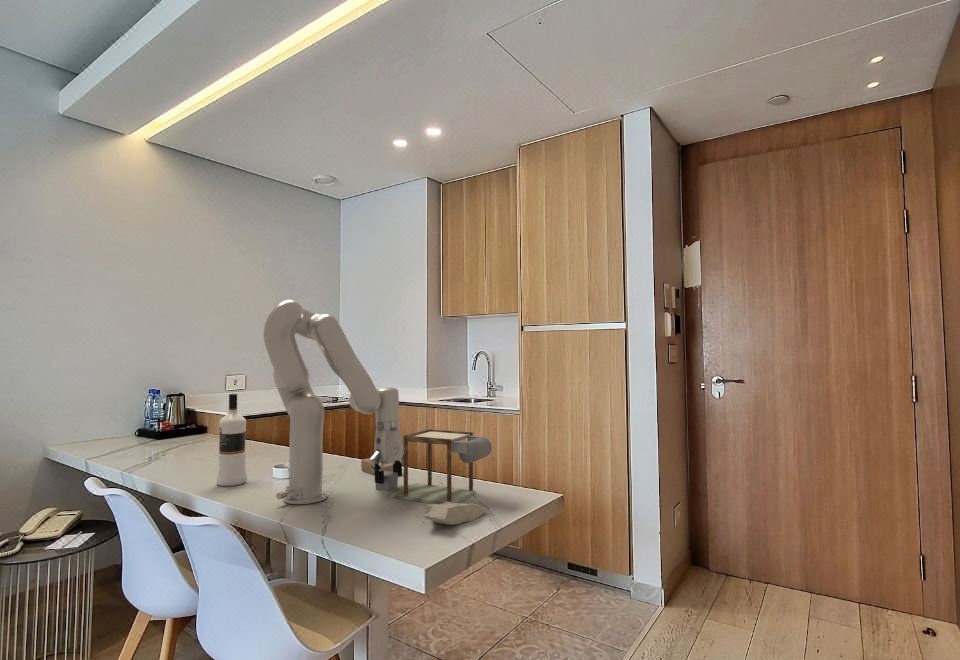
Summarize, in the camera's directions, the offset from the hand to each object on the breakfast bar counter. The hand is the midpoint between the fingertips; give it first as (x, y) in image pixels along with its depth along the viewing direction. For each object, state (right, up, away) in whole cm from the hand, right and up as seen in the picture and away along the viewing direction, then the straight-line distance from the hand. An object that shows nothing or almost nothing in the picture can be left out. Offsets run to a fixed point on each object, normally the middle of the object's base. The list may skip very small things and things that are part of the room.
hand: (388, 479), depth 170 cm
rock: (+21, -2, -31) cm, 37 cm away
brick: (-6, -4, +22) cm, 23 cm away
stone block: (-1, -3, 0) cm, 3 cm away
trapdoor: (+21, +10, -11) cm, 25 cm away
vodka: (-54, -4, +7) cm, 54 cm away
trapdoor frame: (+15, -3, -8) cm, 17 cm away
